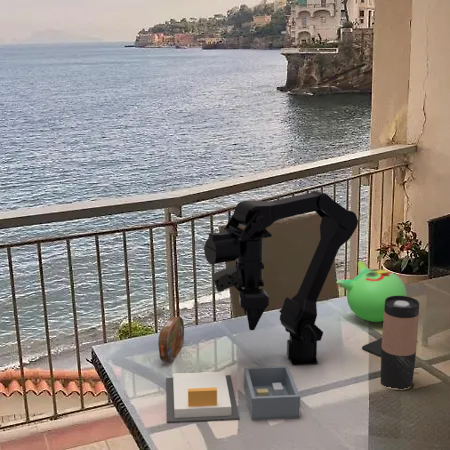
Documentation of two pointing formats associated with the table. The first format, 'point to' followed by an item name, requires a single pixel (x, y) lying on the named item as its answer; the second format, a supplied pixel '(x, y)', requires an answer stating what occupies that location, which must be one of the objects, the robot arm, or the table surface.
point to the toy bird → (371, 292)
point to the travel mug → (399, 341)
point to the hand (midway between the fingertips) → (249, 321)
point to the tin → (171, 339)
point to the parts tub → (271, 393)
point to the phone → (374, 347)
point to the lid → (201, 395)
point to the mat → (172, 418)
